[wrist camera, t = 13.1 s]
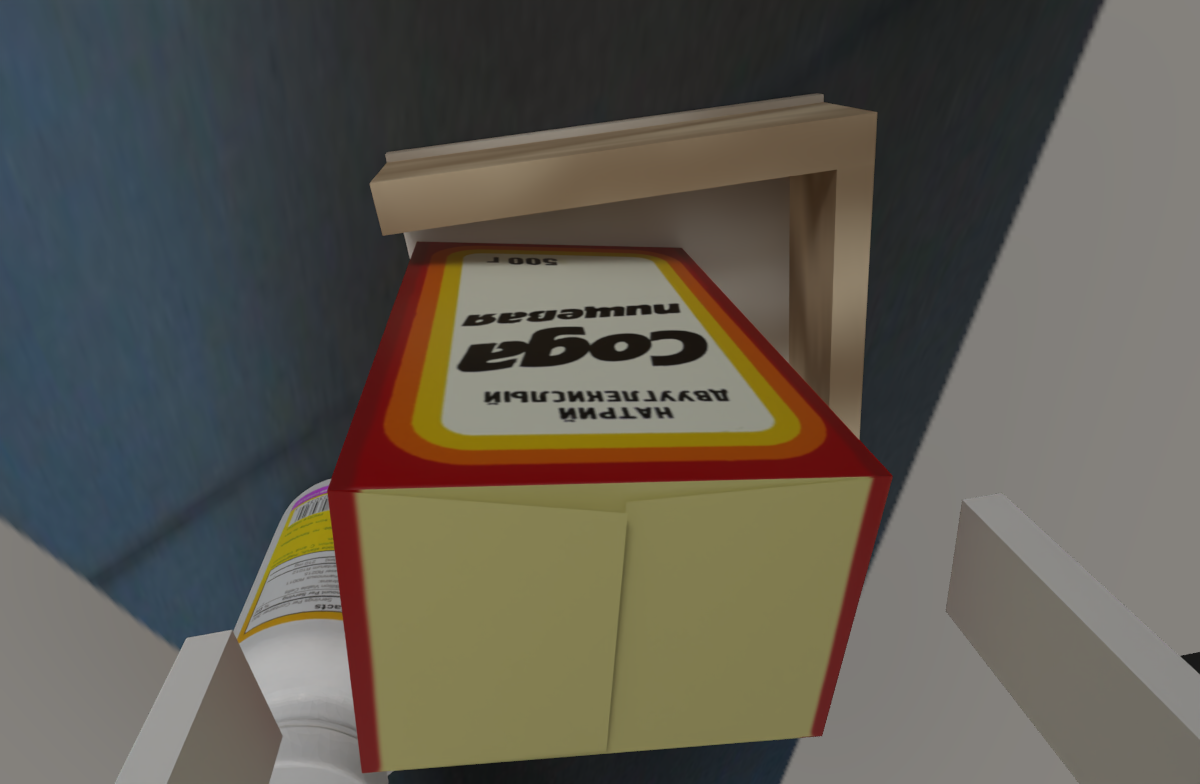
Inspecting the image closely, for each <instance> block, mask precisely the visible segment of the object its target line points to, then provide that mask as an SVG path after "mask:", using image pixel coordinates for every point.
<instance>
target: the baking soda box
mask: <svg viewBox="0 0 1200 784" xmlns="http://www.w3.org/2000/svg"><path fill="white" fill-rule="evenodd" d="M892 477H893V476H892V475H891V474H890V473H889V471H888V470H887V469H886V468H885V467H884V466H883V465H882V464H881V463H880V462H879V461H878V460H877V458H876V457H875V456H874V455H873V454H872V453H871V452H870V451H869V450H868V449H867V448H866V447H865V445H864V444H863V443H862V442H861V441H860V440H859V439H858V438H857V437H856V436H855V435H854V434H853V433H852V431H851V430H850V429H849V428H848V427H847V426H846V425H845V424H844V423H843V422H842V421H841V420H840V418H839V417H838V416H837V415H836V414H835V413H834V412H833V411H832V410H831V409H830V408H829V407H828V405H827V404H826V403H825V402H824V401H823V400H822V399H821V398H820V397H819V396H818V395H817V394H816V392H815V391H814V390H813V389H812V388H811V387H810V386H809V385H808V384H807V383H806V382H805V381H804V379H803V378H802V377H801V376H800V375H799V374H798V373H797V372H796V371H795V370H794V369H793V368H792V366H791V365H790V364H789V363H788V362H787V361H786V360H785V359H784V358H783V357H782V356H781V355H780V353H779V352H778V351H777V350H776V349H775V348H774V347H773V346H772V345H771V344H770V343H769V342H768V340H767V339H766V338H765V337H764V336H763V335H762V334H761V333H760V332H759V331H758V330H757V329H756V327H755V326H754V325H753V324H752V323H751V322H750V321H749V320H748V319H747V318H746V317H745V316H744V315H743V313H742V312H741V311H740V310H739V309H738V308H737V307H736V306H735V305H734V304H733V303H732V302H731V300H730V299H729V298H728V297H727V296H726V295H725V294H724V293H723V292H722V291H721V290H720V289H719V287H718V286H717V285H716V284H715V283H714V282H713V281H712V280H711V279H710V278H709V277H708V276H707V274H706V273H705V272H704V271H703V270H702V269H701V268H700V267H699V266H698V265H697V264H696V263H695V261H694V260H693V259H692V258H691V257H690V256H689V255H688V254H687V253H686V252H685V251H684V250H683V248H673V247H631V246H588V245H546V244H503V243H460V242H418V241H417V242H416V245H415V248H414V251H413V253H412V256H411V259H410V262H409V264H408V267H407V270H406V273H405V276H404V278H403V281H402V284H401V287H400V289H399V292H398V295H397V298H396V301H395V303H394V306H393V309H392V312H391V314H390V317H389V320H388V323H387V326H386V328H385V331H384V334H383V337H382V339H381V342H380V345H379V348H378V351H377V353H376V356H375V359H374V362H373V364H372V367H371V370H370V373H369V376H368V378H367V381H366V384H365V387H364V389H363V392H362V395H361V398H360V401H359V403H358V406H357V409H356V412H355V414H354V417H353V420H352V423H351V426H350V428H349V431H348V434H347V437H346V439H345V442H344V445H343V448H342V451H341V453H340V456H339V459H338V462H337V464H336V467H335V470H334V473H333V476H332V478H331V481H330V484H329V487H328V489H327V493H328V502H329V510H330V518H331V526H332V534H333V542H334V550H335V559H336V567H337V575H338V583H339V591H340V599H341V607H342V616H343V624H344V632H345V640H346V648H347V656H348V664H349V673H350V681H351V689H352V697H353V705H354V713H355V721H356V730H357V738H358V746H359V754H360V762H361V770H362V773H372V772H384V771H397V770H409V769H421V768H434V767H446V766H458V765H471V764H483V763H495V762H508V761H520V760H532V759H544V758H557V757H569V756H581V755H594V754H606V753H618V752H631V751H643V750H655V749H668V748H680V747H692V746H705V745H717V744H729V743H742V742H754V741H766V740H779V739H791V738H803V737H814V736H815V737H816V736H822V734H823V731H824V727H825V723H826V720H827V716H828V712H829V709H830V705H831V701H832V698H833V694H834V690H835V686H836V683H837V679H838V676H839V671H840V668H841V664H842V661H843V657H844V654H845V650H846V646H847V642H848V639H849V635H850V631H851V628H852V624H853V620H854V617H855V613H856V609H857V606H858V602H859V598H860V595H861V591H862V587H863V584H864V580H865V576H866V573H867V569H868V565H869V562H870V558H871V554H872V551H873V547H874V543H875V539H876V536H877V532H878V528H879V525H880V521H881V517H882V514H883V510H884V506H885V503H886V499H887V495H888V492H889V488H890V484H891V481H892Z"/></svg>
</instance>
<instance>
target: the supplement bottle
mask: <svg viewBox="0 0 1200 784" xmlns="http://www.w3.org/2000/svg"><path fill="white" fill-rule="evenodd" d="M330 481H331V479H328V480H325V481H323V482H320V483H318V484H316V485H314V486H312V487H310V488H309V489H307V490H306V491H304V492H303V493H302V494H301V495H299V496H298V497H297V498H296V499H295V500H294V501H293V502H292V503H291V504H290V505H289V507H288V508H287V510H286V511H285V513H284V515H283V516H282V519H281V521H280V523H279V525H278V527H277V530H276V532H275V534H274V537H273V539H272V541H271V544H270V546H269V548H268V551H267V553H266V555H265V558H264V560H263V563H262V565H261V567H260V570H259V572H258V574H257V577H256V579H255V582H254V584H253V586H252V589H251V591H250V593H249V596H248V598H247V600H246V603H245V605H244V607H243V610H242V612H241V615H240V617H239V619H238V622H237V624H236V626H235V629H234V631H233V632H234V635H235V637H236V639H237V641H238V643H239V645H240V647H241V649H242V651H243V653H244V656H245V658H246V660H247V662H248V664H249V666H250V668H251V670H252V672H253V674H254V677H255V679H256V681H257V683H258V685H259V687H260V689H261V691H262V693H263V695H264V698H265V700H266V702H267V704H268V706H269V708H270V710H271V712H272V714H273V716H274V719H275V721H276V723H277V725H278V727H279V729H280V731H281V733H282V735H283V737H282V741H281V744H280V748H279V751H278V754H277V758H276V761H275V765H274V768H273V772H272V775H271V778H270V782H269V784H388V777H387V776H388V775H389V774H390V773H392V772H393V771H384V772H372V773H362V770H361V762H360V754H359V746H358V738H357V730H356V721H355V713H354V705H353V697H352V689H351V681H350V673H349V664H348V656H347V648H346V640H345V632H344V624H343V616H342V607H341V599H340V591H339V583H338V575H337V567H336V559H335V550H334V542H333V534H332V526H331V518H330V510H329V502H328V493H327V489H328V487H329V484H330Z"/></svg>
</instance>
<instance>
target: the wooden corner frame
mask: <svg viewBox="0 0 1200 784" xmlns="http://www.w3.org/2000/svg"><path fill="white" fill-rule="evenodd" d="M876 128H877V112H873V111H868V110H862V109H857V108H852V107H846V106H841V105H836V104H830V103H825V102H824V94H818V93H815V94H808V95H801V96H793V97H786V98H779V99H772V100H764V101H757V102H750V103H742V104H735V105H728V106H721V107H713V108H706V109H699V110H692V111H684V112H677V113H670V114H662V115H655V116H648V117H641V118H633V119H626V120H619V121H611V122H604V123H597V124H590V125H582V126H575V127H568V128H561V129H553V130H546V131H539V132H531V133H524V134H517V135H510V136H502V137H495V138H488V139H480V140H473V141H466V142H459V143H451V144H444V145H437V146H429V147H422V148H415V149H408V150H400V151H393V152H387V153H386V154H385V156H386V160H387V163H386V164H385V166H384V167H383V168H382V169H381V170H380V172H379V173H378V174H377V175H376V176H375V178H374V179H373V180H372V181H371V182H370V187H371V191H372V195H373V199H374V203H375V207H376V211H377V215H378V219H379V223H380V227H381V231H382V235H383V236H384V235H391V234H398V233H404V236H405V240H406V244H407V249H408V253H409V257H410V259H411V256H412V253H413V251H414V248H415V245H416V242H417V241H418V242H460V243H503V244H546V245H588V246H631V247H673V248H683V250H684V251H685V252H686V253H687V254H688V255H689V256H690V257H691V258H692V259H693V260H694V261H695V263H696V264H697V265H698V266H699V267H700V268H701V269H702V270H703V271H704V272H705V273H706V274H707V276H708V277H709V278H710V279H711V280H712V281H713V282H714V283H715V284H716V285H717V286H718V287H719V289H720V290H721V291H722V292H723V293H724V294H725V295H726V296H727V297H728V298H729V299H730V300H731V302H732V303H733V304H734V305H735V306H736V307H737V308H738V309H739V310H740V311H741V312H742V313H743V315H744V316H745V317H746V318H747V319H748V320H749V321H750V322H751V323H752V324H753V325H754V326H755V327H756V329H757V330H758V331H759V332H760V333H761V334H762V335H763V336H764V337H765V338H766V339H767V340H768V342H769V343H770V344H771V345H772V346H773V347H774V348H775V349H776V350H777V351H778V352H779V353H780V355H781V356H782V357H783V358H784V359H785V360H786V361H787V362H788V363H789V364H790V365H791V366H792V368H793V369H794V370H795V371H796V372H797V373H798V374H799V375H800V376H801V377H802V378H803V379H804V381H805V382H806V383H807V384H808V385H809V386H810V387H811V388H812V389H813V390H814V391H815V392H816V394H817V395H818V396H819V397H820V398H821V399H822V400H823V401H824V402H825V403H826V404H827V405H828V407H829V408H830V409H831V410H832V411H833V412H834V413H835V414H836V415H837V416H838V417H839V418H840V420H841V421H842V422H843V423H844V424H845V425H846V426H847V427H848V428H849V429H850V430H851V431H852V433H853V434H854V435H855V436H856V437H857V438H858V439H859V436H860V418H861V400H862V382H863V364H864V346H865V327H866V309H867V291H868V273H869V255H870V237H871V218H872V200H873V182H874V164H875V146H876Z"/></svg>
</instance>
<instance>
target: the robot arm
mask: <svg viewBox="0 0 1200 784" xmlns="http://www.w3.org/2000/svg"><path fill="white" fill-rule="evenodd" d="M946 612H947V613H948V615H949V616H950V617H951V618H952V620H953V621H954V622H955V623H956V625H957V626H958V627H959V629H960V630H961V631H962V632H963V634H964V635H965V636H966V638H967V639H968V640H969V642H970V643H971V644H972V646H973V647H974V648H975V649H976V651H977V652H978V653H979V655H980V656H981V657H982V658H983V660H984V661H985V662H986V664H987V665H988V666H989V667H990V669H991V670H992V671H993V673H994V674H995V675H996V676H997V678H998V679H999V680H1000V682H1001V683H1002V684H1003V686H1004V687H1005V688H1006V689H1007V691H1008V692H1009V693H1010V695H1011V696H1012V697H1013V698H1014V700H1015V701H1016V702H1017V704H1018V705H1019V706H1020V708H1021V709H1022V710H1023V711H1024V713H1025V714H1026V715H1027V717H1028V718H1029V719H1030V720H1031V722H1032V723H1033V724H1034V726H1035V727H1036V728H1037V729H1038V731H1039V732H1040V733H1041V734H1042V736H1043V737H1044V738H1045V740H1046V741H1047V742H1048V744H1049V745H1050V746H1051V748H1052V749H1053V750H1054V751H1055V753H1056V754H1057V755H1058V756H1059V758H1060V759H1061V760H1062V762H1063V763H1064V764H1065V765H1066V767H1067V768H1068V770H1069V771H1070V772H1071V773H1072V775H1073V776H1074V777H1075V778H1076V780H1077V781H1078V782H1079V784H1200V652H1198V653H1193V654H1188V655H1183V656H1179V655H1178V654H1177V653H1176V652H1175V651H1174V650H1173V649H1172V648H1171V647H1169V646H1168V645H1167V644H1166V643H1165V642H1164V641H1163V640H1162V639H1161V638H1160V637H1158V636H1157V635H1156V634H1155V633H1154V632H1153V631H1152V630H1151V629H1150V628H1148V626H1147V625H1145V624H1144V623H1143V622H1142V621H1141V620H1140V619H1139V618H1138V617H1137V616H1136V615H1135V614H1133V613H1132V612H1131V611H1130V610H1129V609H1128V608H1127V607H1126V606H1125V605H1124V604H1122V603H1121V602H1120V601H1119V600H1118V599H1117V598H1116V597H1115V596H1114V595H1113V594H1112V593H1111V592H1110V591H1108V590H1107V589H1106V588H1105V587H1104V586H1103V585H1102V584H1101V583H1100V582H1099V581H1098V580H1097V579H1095V578H1094V577H1093V576H1092V575H1091V574H1090V573H1089V572H1088V571H1087V570H1085V569H1084V568H1083V567H1082V566H1081V565H1080V564H1079V563H1078V562H1077V561H1076V560H1075V559H1073V557H1071V556H1070V555H1069V554H1068V553H1067V552H1066V551H1065V550H1064V549H1063V548H1062V547H1061V546H1059V545H1058V544H1057V543H1056V542H1055V541H1054V540H1053V539H1052V538H1051V537H1050V536H1048V535H1047V534H1046V533H1045V532H1044V531H1043V530H1042V529H1041V528H1040V527H1039V526H1038V525H1037V524H1036V523H1034V522H1033V521H1032V520H1031V519H1030V518H1029V517H1028V516H1027V515H1026V514H1025V513H1023V512H1022V511H1021V510H1020V509H1019V508H1018V507H1017V506H1016V505H1015V504H1014V503H1013V502H1012V501H1010V500H1009V499H1008V498H1007V497H1006V496H1005V495H1004V494H1003V493H997V494H992V495H986V496H980V497H975V498H969V499H963V500H962V505H961V512H960V518H959V525H958V532H957V538H956V545H955V552H954V559H953V565H952V572H951V579H950V585H949V592H948V599H947V605H946ZM282 737H283V735H282V733H281V731H280V729H279V727H278V725H277V723H276V721H275V719H274V716H273V714H272V712H271V710H270V708H269V706H268V704H267V702H266V700H265V698H264V695H263V693H262V691H261V689H260V687H259V685H258V683H257V681H256V679H255V677H254V674H253V672H252V670H251V668H250V666H249V664H248V662H247V660H246V658H245V656H244V653H243V651H242V649H241V647H240V645H239V643H238V641H237V639H236V637H235V635H234V632H233V630H229V631H223V632H218V633H212V634H206V635H201V636H195V637H190V638H186V640H185V642H184V644H183V646H182V648H181V650H180V652H179V654H178V656H177V658H176V660H175V662H174V664H173V666H172V668H171V670H170V672H169V674H168V677H167V679H166V681H165V682H164V684H163V686H162V688H161V691H160V693H159V695H158V697H157V699H156V701H155V703H154V705H153V707H152V709H151V711H150V713H149V715H148V717H147V719H146V721H145V723H144V725H143V727H142V729H141V731H140V733H139V735H138V737H137V739H136V741H135V743H134V745H133V747H132V749H131V751H130V753H129V755H128V757H127V760H126V761H125V764H124V765H123V767H122V769H121V771H120V773H119V775H118V777H117V779H116V781H115V783H114V784H269V782H270V778H271V775H272V772H273V768H274V765H275V761H276V758H277V754H278V751H279V748H280V744H281V741H282Z"/></svg>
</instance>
